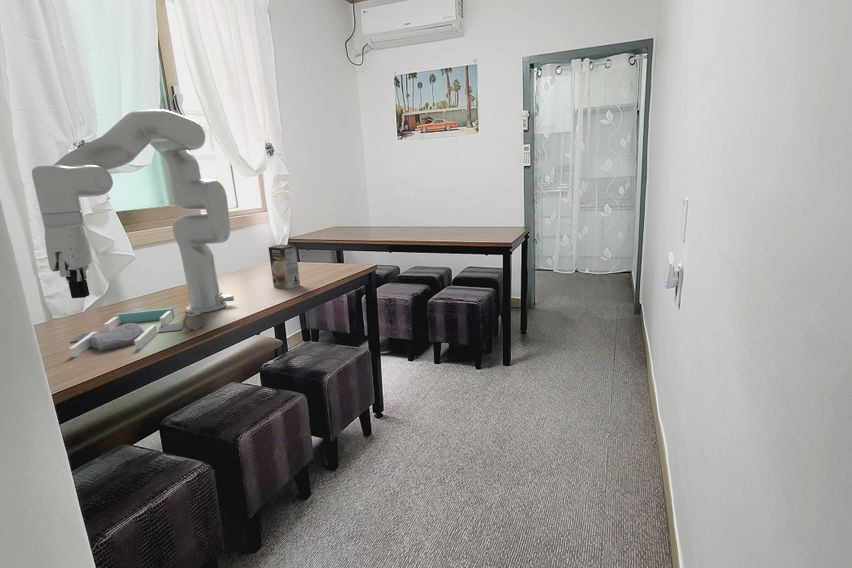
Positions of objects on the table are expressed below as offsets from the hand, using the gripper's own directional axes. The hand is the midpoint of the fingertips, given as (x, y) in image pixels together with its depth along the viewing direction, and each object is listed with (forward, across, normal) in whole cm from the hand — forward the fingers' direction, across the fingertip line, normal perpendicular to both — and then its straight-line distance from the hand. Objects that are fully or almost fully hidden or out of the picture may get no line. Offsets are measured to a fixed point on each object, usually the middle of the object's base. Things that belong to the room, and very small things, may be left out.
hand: (80, 296), depth 112 cm
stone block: (+17, -14, +1) cm, 22 cm away
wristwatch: (+17, -19, +19) cm, 31 cm away
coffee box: (+16, -63, +42) cm, 77 cm away
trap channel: (+16, -20, 0) cm, 26 cm away
